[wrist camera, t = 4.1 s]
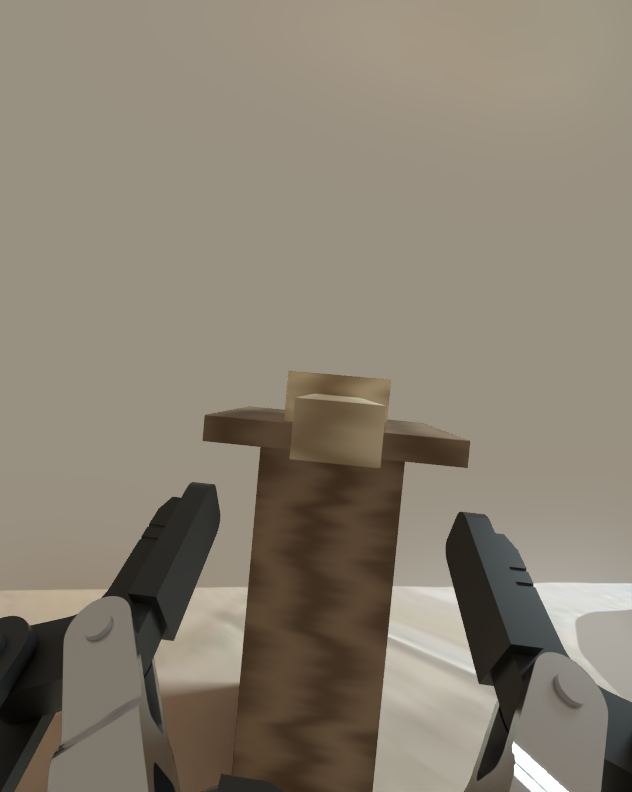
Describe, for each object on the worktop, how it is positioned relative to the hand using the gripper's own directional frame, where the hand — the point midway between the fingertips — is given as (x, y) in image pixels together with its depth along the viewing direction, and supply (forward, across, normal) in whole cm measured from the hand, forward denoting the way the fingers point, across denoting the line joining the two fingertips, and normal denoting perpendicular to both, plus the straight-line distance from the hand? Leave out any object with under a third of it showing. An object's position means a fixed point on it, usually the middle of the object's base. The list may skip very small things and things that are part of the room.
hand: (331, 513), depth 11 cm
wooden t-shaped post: (+2, 0, +37) cm, 37 cm away
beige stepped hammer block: (+11, 0, +5) cm, 12 cm away
